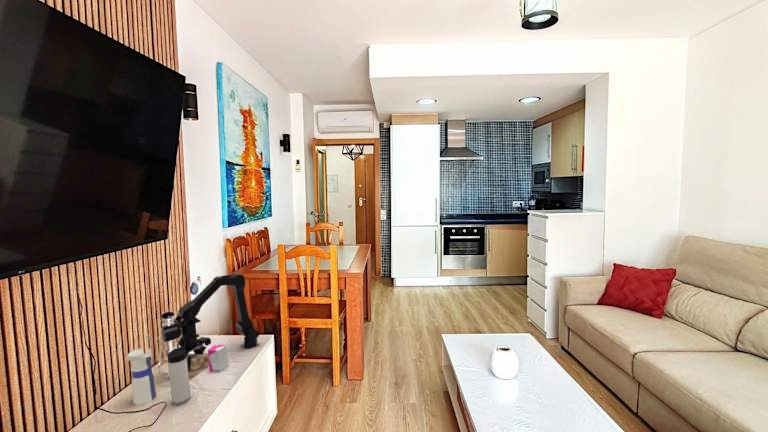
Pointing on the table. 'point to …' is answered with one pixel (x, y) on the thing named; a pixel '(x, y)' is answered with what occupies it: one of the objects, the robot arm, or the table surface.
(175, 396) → the travel mug
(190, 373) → the walnut board
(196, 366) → the sanding block
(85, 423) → the table surface
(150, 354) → the water bottle
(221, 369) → the supplement box
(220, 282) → the robot arm
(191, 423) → the table surface
